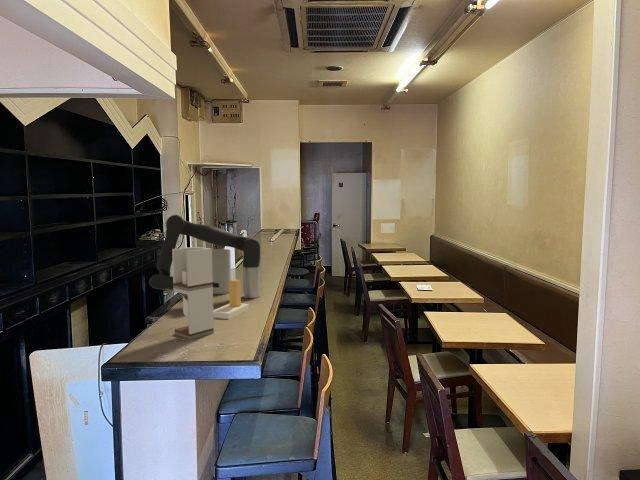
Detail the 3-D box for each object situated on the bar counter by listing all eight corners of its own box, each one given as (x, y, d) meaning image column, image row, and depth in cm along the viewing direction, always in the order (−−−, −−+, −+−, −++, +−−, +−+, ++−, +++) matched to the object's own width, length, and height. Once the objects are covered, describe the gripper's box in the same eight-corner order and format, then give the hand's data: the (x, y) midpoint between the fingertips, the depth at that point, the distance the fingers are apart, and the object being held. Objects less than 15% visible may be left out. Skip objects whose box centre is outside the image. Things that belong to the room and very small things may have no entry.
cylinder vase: (215, 295, 260) (215, 252, 258) (205, 292, 270) (204, 250, 267) (235, 292, 268) (234, 250, 266) (224, 289, 278) (223, 248, 276)
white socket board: (231, 308, 230) (231, 302, 229) (249, 309, 227) (249, 304, 226) (209, 318, 211) (209, 311, 210) (229, 320, 208) (228, 313, 207)
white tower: (198, 328, 195) (196, 246, 191) (213, 332, 188) (211, 248, 185) (174, 334, 186) (172, 249, 183) (190, 339, 179) (187, 251, 176)
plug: (233, 309, 226) (233, 279, 224) (241, 309, 225) (240, 279, 223) (229, 311, 222) (229, 280, 221) (237, 311, 221) (236, 281, 219)
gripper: (177, 279, 224) (206, 281, 219) (194, 275, 237) (221, 277, 232) (177, 294, 224) (206, 297, 219) (194, 289, 238) (221, 291, 233)
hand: (214, 286), depth 226 cm, fingers open, 8 cm apart
